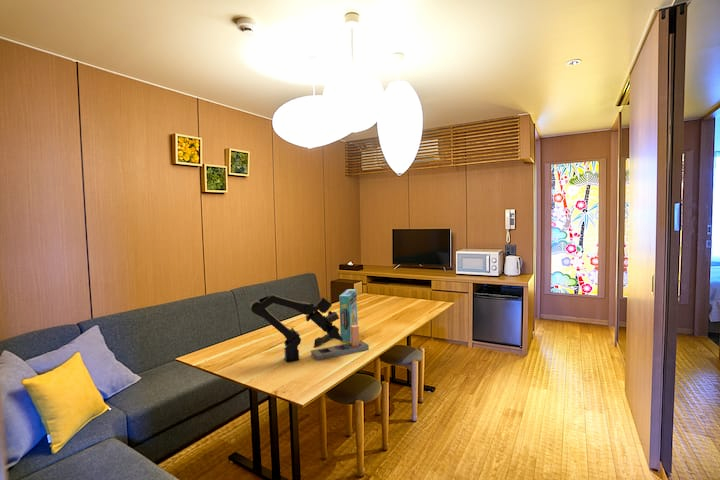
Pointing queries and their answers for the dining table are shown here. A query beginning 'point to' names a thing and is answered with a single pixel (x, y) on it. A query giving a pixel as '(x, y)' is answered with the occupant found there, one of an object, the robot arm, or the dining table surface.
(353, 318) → the game box
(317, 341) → the hand tool
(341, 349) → the rail
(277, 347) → the dining table surface
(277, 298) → the robot arm
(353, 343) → the peg
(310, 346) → the dining table surface
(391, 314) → the dining table surface
